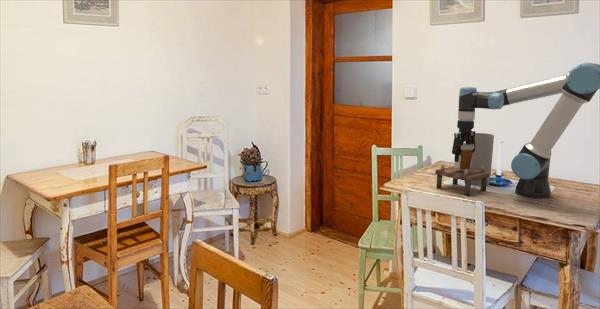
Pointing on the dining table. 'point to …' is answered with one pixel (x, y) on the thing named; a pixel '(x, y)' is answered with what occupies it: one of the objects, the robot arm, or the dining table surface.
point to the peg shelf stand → (462, 177)
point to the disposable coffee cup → (466, 155)
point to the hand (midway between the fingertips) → (462, 166)
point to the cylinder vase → (482, 155)
